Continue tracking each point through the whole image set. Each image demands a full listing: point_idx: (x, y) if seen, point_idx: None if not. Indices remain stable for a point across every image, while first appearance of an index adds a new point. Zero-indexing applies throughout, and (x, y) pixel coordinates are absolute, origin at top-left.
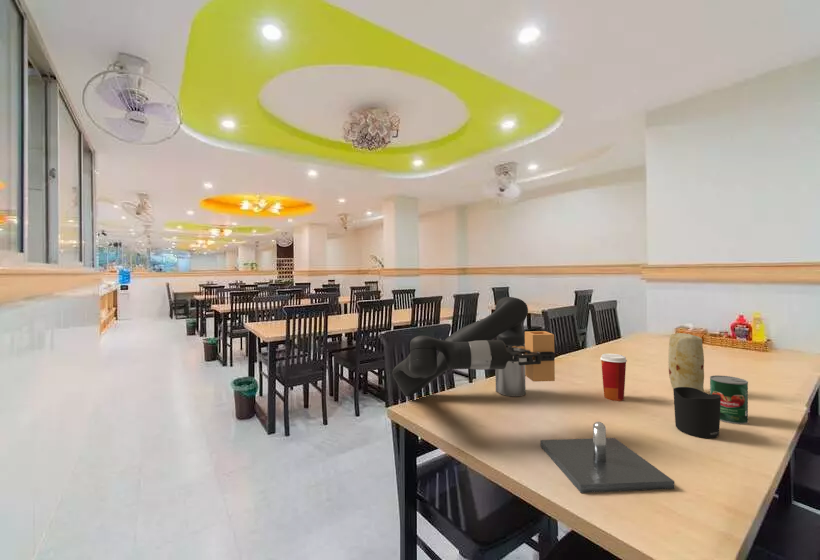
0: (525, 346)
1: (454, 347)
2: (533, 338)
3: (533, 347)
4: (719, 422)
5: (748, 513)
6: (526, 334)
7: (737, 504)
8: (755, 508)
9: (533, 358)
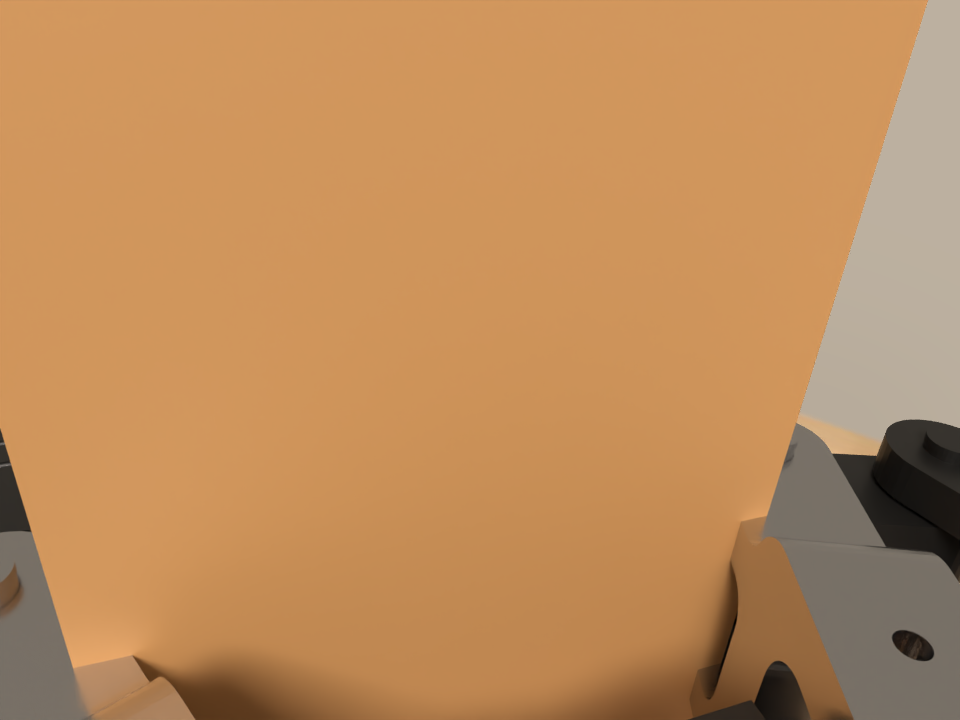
0: (132, 621)
1: None
2: (867, 129)
3: (787, 408)
4: None
5: (858, 438)
6: (216, 78)
7: (823, 440)
8: (816, 420)
9: (720, 641)
